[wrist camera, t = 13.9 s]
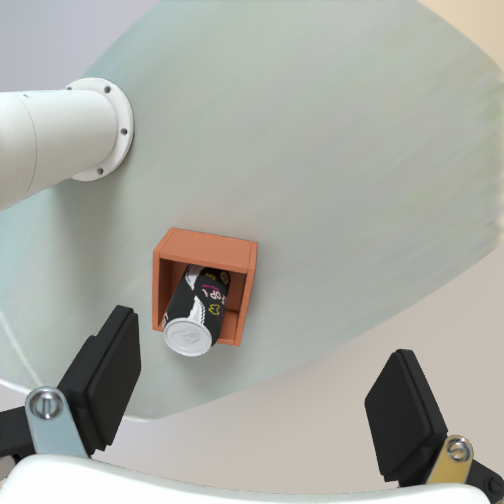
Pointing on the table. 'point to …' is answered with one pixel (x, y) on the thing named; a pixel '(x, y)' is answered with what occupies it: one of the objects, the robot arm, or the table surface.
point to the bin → (210, 255)
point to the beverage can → (196, 310)
